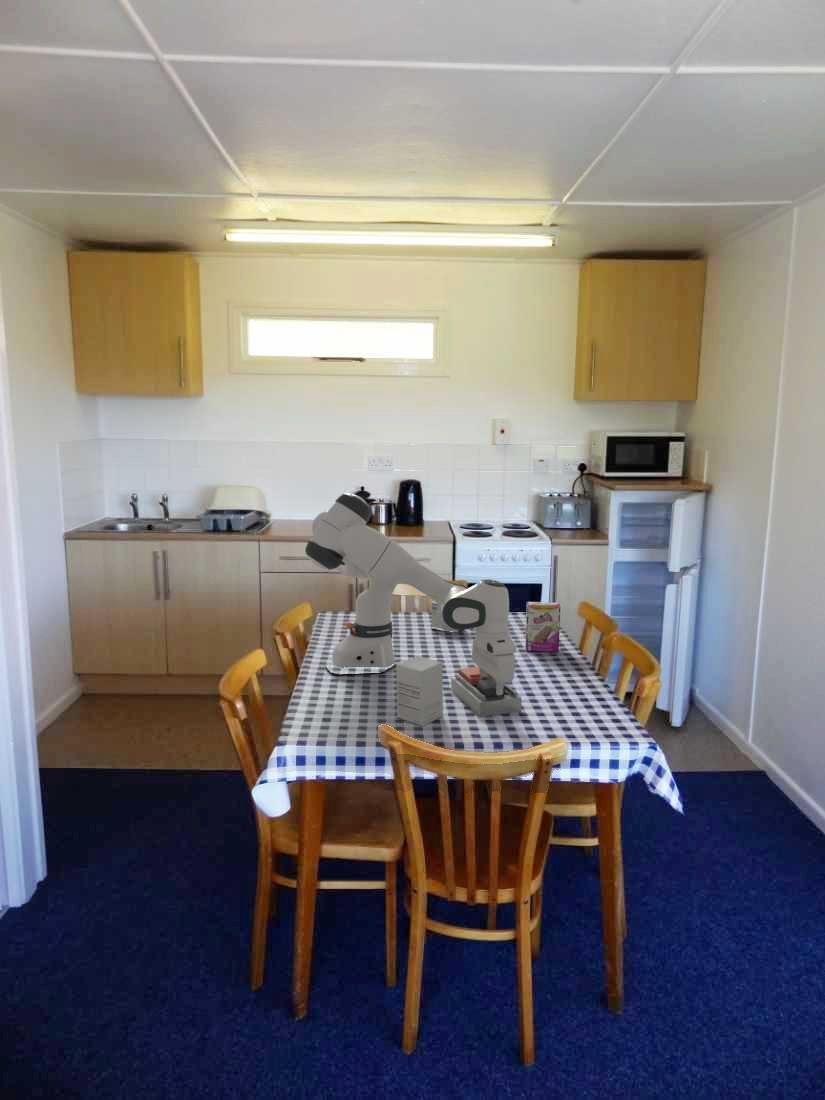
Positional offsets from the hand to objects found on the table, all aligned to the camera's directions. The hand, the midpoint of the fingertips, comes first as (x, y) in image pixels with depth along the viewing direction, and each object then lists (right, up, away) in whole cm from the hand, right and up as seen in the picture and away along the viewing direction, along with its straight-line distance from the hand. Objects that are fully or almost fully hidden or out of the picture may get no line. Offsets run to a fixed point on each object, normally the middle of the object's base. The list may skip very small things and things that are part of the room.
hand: (491, 688), depth 206 cm
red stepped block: (-3, +1, +10) cm, 11 cm away
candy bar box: (+22, +3, +51) cm, 56 cm away
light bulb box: (-8, +8, +77) cm, 78 cm away
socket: (-1, -4, +5) cm, 7 cm away
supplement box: (-20, -7, -6) cm, 22 cm away
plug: (0, -4, +1) cm, 4 cm away
